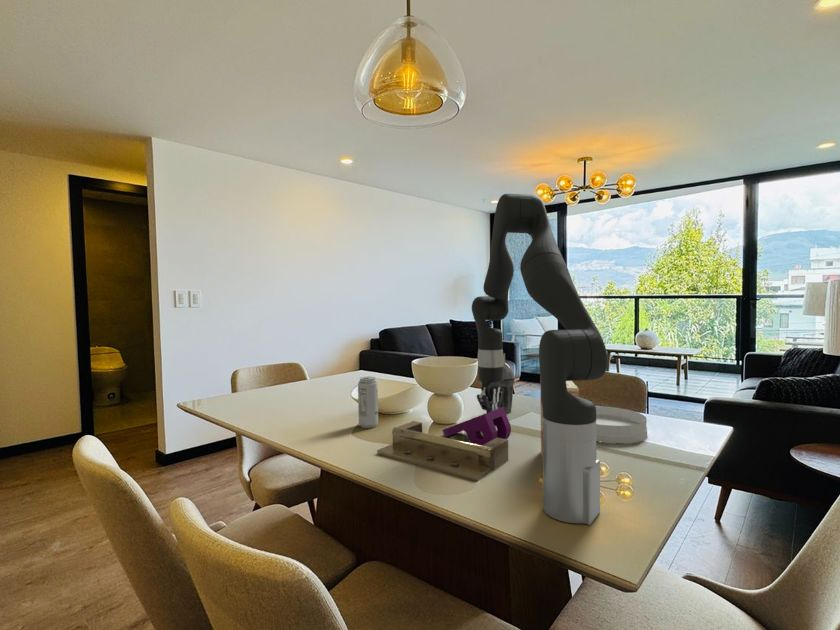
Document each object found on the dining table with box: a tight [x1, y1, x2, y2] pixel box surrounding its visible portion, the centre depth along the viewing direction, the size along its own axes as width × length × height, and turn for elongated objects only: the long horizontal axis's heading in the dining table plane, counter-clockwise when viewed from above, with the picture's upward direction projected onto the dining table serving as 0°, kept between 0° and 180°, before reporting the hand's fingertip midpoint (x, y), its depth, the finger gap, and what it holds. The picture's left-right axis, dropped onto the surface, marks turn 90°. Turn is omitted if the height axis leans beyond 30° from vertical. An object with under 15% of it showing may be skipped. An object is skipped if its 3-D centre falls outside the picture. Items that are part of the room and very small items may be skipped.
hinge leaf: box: [376, 420, 509, 482], centre depth 109 cm, size 29×15×5 cm, turn 53°
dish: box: [595, 405, 648, 444], centre depth 128 cm, size 22×22×5 cm
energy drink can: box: [357, 376, 379, 429], centre depth 137 cm, size 6×6×15 cm
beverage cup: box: [497, 352, 516, 414], centre depth 152 cm, size 7×7×20 cm
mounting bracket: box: [441, 407, 512, 445], centre depth 121 cm, size 10×8×18 cm
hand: (491, 423), depth 130 cm, fingers closed
